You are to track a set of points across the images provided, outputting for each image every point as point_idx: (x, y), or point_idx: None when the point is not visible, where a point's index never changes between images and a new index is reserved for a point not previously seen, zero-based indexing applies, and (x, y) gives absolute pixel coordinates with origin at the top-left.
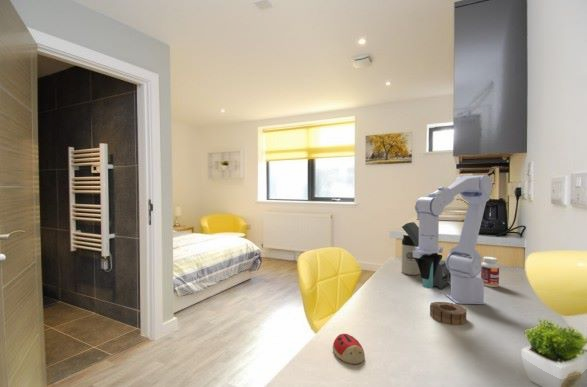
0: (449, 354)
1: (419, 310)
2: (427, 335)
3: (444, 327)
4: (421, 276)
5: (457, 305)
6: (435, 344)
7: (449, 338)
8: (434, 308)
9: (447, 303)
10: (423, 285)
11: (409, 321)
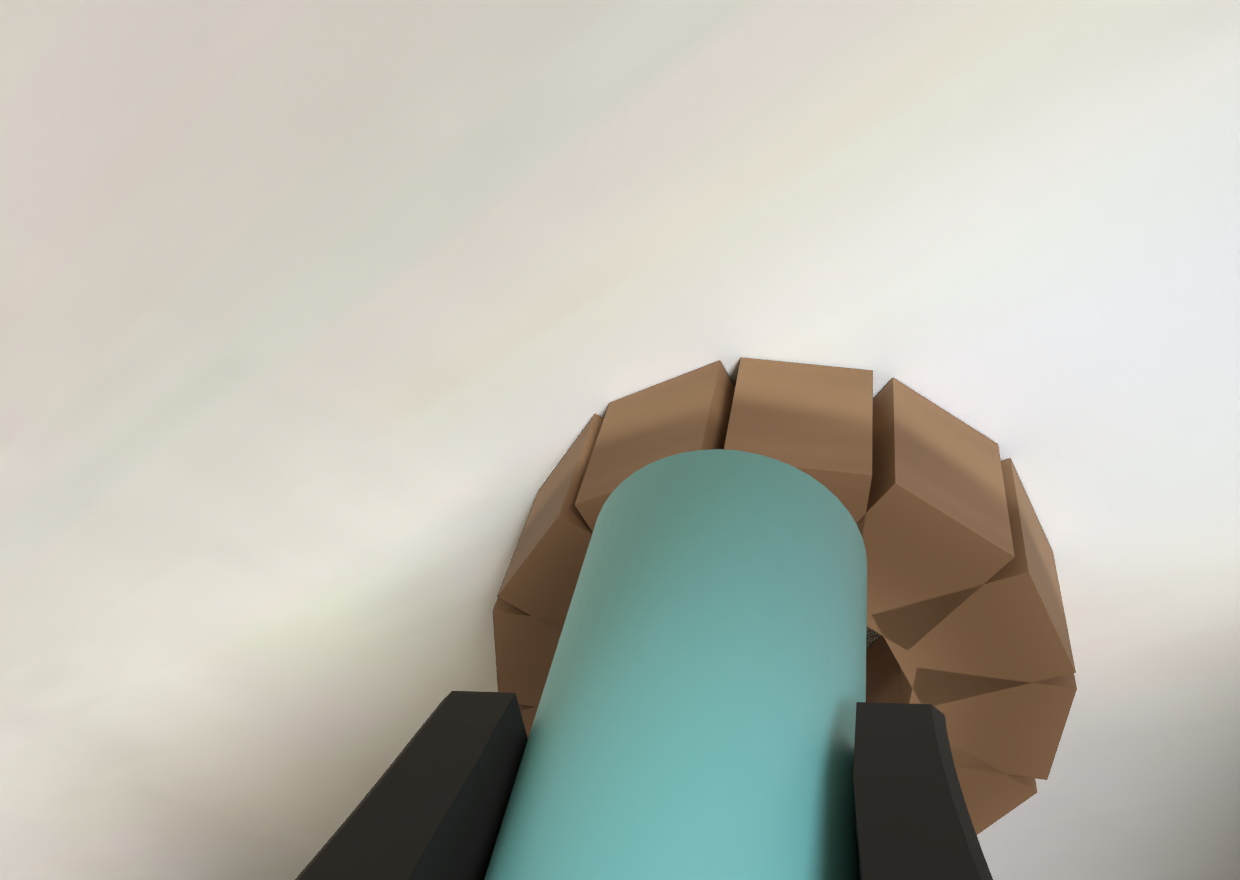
0: (69, 861)
1: (631, 188)
2: (110, 652)
3: (451, 670)
4: (421, 741)
5: (1020, 740)
6: (65, 756)
7: (284, 782)
8: (525, 602)
9: (970, 621)
10: (590, 544)
11: (138, 360)
